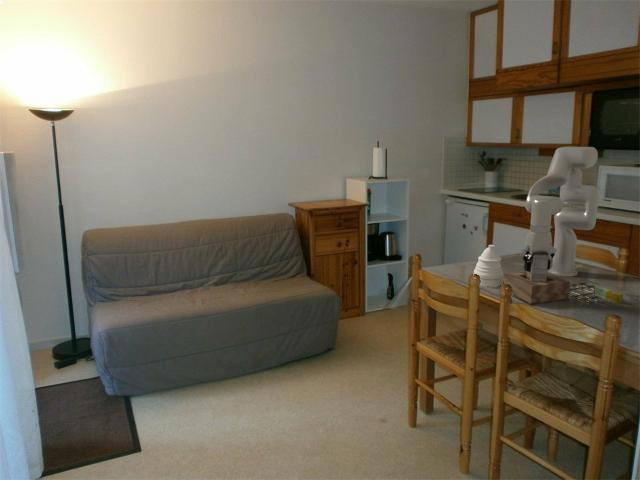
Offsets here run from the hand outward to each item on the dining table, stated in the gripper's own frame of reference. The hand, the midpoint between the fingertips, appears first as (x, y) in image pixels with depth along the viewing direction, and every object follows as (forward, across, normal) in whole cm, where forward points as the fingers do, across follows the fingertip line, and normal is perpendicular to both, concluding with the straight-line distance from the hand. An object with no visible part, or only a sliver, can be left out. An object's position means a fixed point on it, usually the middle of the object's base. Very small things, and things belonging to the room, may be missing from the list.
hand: (536, 270), depth 213 cm
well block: (+11, 0, 0) cm, 11 cm away
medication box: (+12, -26, +12) cm, 31 cm away
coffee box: (+8, 0, 0) cm, 8 cm away
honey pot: (+12, +8, -22) cm, 26 cm away
